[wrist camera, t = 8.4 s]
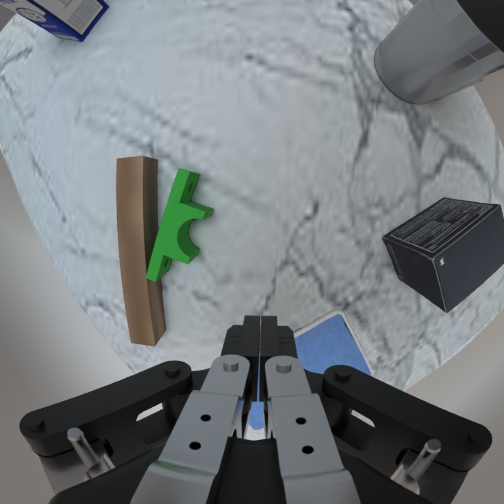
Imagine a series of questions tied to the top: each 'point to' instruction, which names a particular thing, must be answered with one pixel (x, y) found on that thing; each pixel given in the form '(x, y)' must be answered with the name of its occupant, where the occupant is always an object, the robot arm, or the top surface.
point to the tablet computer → (321, 352)
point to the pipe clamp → (177, 226)
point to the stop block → (139, 247)
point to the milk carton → (61, 15)
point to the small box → (448, 249)
